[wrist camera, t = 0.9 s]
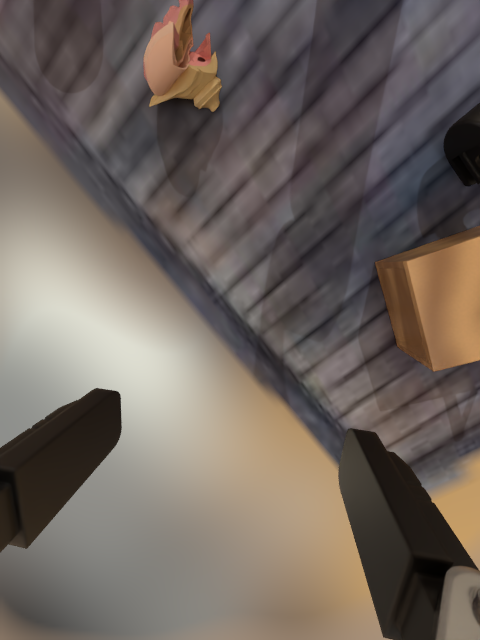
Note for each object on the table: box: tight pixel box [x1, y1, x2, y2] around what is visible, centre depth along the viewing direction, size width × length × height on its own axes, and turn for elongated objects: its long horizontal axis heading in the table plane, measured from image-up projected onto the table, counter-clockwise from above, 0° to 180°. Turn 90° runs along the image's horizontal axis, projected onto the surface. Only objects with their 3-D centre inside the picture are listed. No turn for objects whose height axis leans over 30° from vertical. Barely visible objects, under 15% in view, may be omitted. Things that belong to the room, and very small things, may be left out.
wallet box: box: [375, 226, 480, 368], centre depth 29 cm, size 16×13×7 cm
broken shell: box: [143, 0, 222, 112], centre depth 29 cm, size 9×10×10 cm
